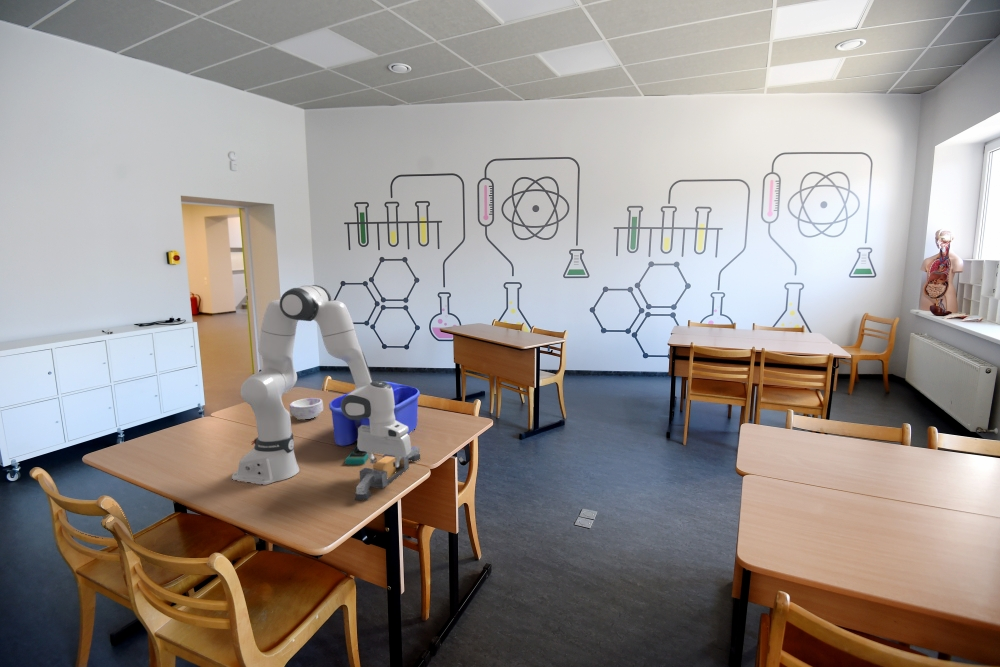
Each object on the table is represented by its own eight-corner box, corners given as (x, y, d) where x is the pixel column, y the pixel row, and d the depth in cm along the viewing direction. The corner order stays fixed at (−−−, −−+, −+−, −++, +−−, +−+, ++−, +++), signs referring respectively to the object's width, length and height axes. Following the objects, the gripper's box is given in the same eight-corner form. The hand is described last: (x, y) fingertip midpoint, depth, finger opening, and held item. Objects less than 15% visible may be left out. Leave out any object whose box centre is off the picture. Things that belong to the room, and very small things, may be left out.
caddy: (432, 420, 239) (430, 372, 236) (384, 456, 197) (381, 399, 194) (373, 415, 249) (371, 369, 245) (315, 448, 206) (311, 393, 203)
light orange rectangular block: (383, 482, 175) (382, 466, 174) (373, 480, 176) (373, 464, 175) (396, 473, 182) (395, 457, 181) (386, 471, 183) (385, 455, 183)
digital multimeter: (374, 450, 204) (374, 444, 204) (364, 466, 189) (363, 458, 189) (357, 451, 204) (356, 444, 204) (344, 466, 190) (344, 458, 189)
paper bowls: (283, 421, 242) (282, 405, 240) (304, 411, 256) (303, 396, 255) (310, 423, 237) (309, 407, 236) (330, 414, 252) (329, 398, 250)
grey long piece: (365, 502, 160) (364, 487, 160) (341, 498, 163) (340, 483, 163) (422, 458, 194) (421, 446, 194) (402, 455, 198) (401, 443, 197)
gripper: (352, 427, 177) (354, 464, 179) (403, 433, 170) (404, 472, 172) (363, 421, 183) (365, 457, 185) (412, 427, 176) (414, 465, 178)
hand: (384, 464), depth 178 cm, fingers open, 8 cm apart
